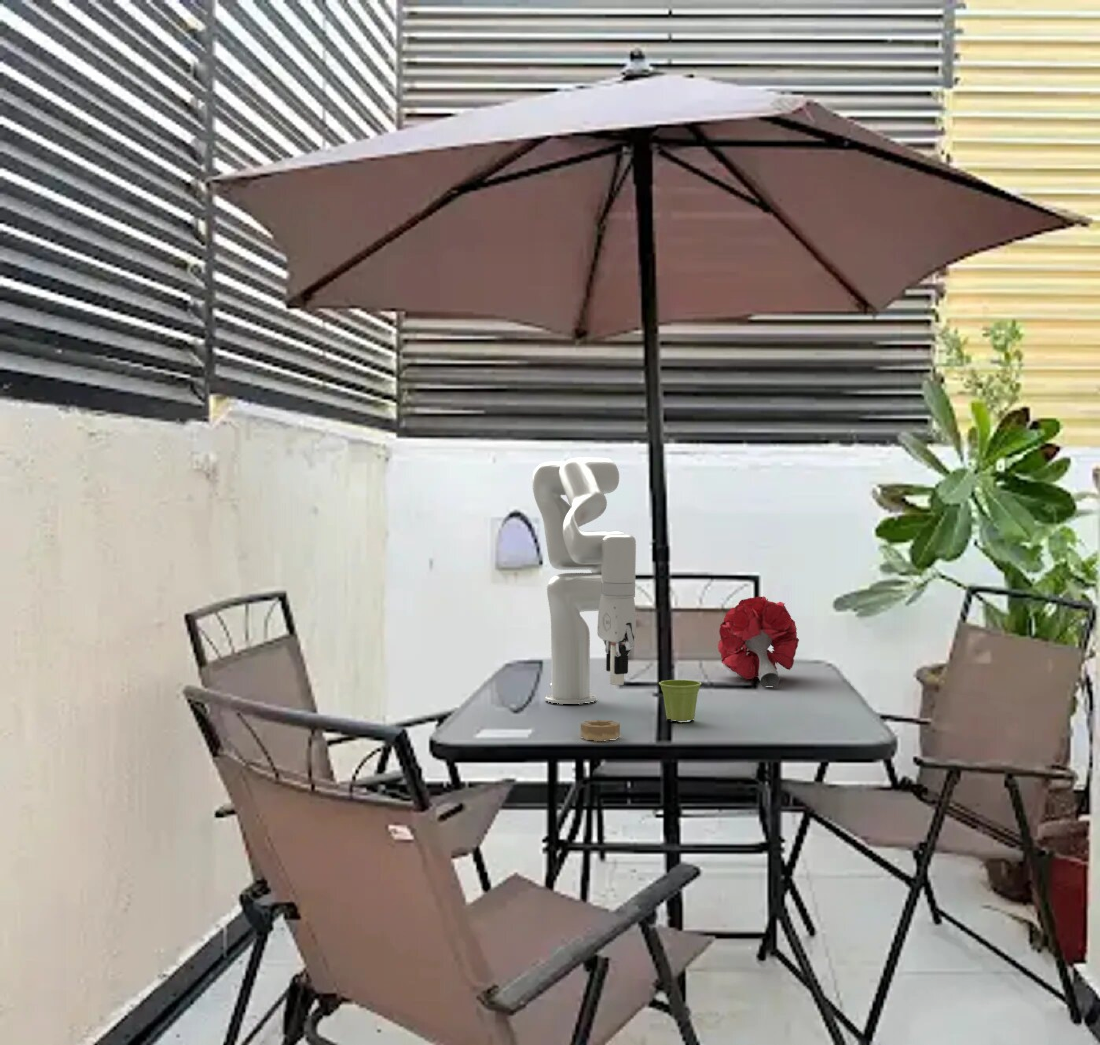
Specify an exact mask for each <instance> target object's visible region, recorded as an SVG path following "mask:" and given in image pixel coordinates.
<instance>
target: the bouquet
mask: <svg viewBox="0 0 1100 1045" xmlns="http://www.w3.org/2000/svg"><path fill="white" fill-rule="evenodd" d="M785 604H786V603H784V602H782V601H779V602H774V601H770V600H769V599H768V598H766V597H765V596H755V597H749V598H748V597H747V598H745V599H741V600H740V601H739V602H738V604H737V605H735V607H732V608H731V609H730V610H728V611H727V612H726V613H725V615H724V618H723V622H722V623H720V625H719V626H720V627H719V630H718V632H719V636H720V640H719V641H718V643H717V644H718V646H717V648H718V652H719V653H720V655H721V656H720V657H721V660H720V661H721V663H722V664H723V665H725V666H726V667H727V668H728V669H730V670H731V671H732V672H733V673H735V674H737V675H738V676H739V677H742V678H744V679H745V680H747V679H752V678H753V679H755V678H754V677H755V675H756V676H759V678H758V679H759V682H760V685H761V686H762V687H763V686H775V687H776V686H778V684H779V683H780V680H781V678H780V676H779V672H778V667H777V666H776V665H780V666H782V667H783V668H785V669H786V670H788V671H790V670H792V668H793V666H794V663H795V659H794V658H795V656H796V653H797V649H798V645H799V641H800V639H799V638H798V637H797V636H798V635H797V634H798V632H797V630H798V629H797V626H796V622H795V620H794V619H792V616H791V614H790V613H789V611H788V610H787V607H786V605H785ZM771 646H772V648H771V649H772V651H771V650H769V648H770V647H771ZM753 679H752V680H753Z"/></svg>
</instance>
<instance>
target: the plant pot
mask: <svg viewBox="0 0 1100 1045" xmlns="http://www.w3.org/2000/svg"><path fill="white" fill-rule="evenodd" d="M658 685H660V688H661V692H662V694H663V696H662V697H663V703H664V708H665V716H666V720H667V719H671V720H676V721H687V720H693V719H694V720H695V716H696V708H697V699H698V694H699V691H700V686H701V685H702V682H701V681H697V680H693V679H692V680H691V679H669V680H661V681H659V682H658Z"/></svg>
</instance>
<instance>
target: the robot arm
mask: <svg viewBox="0 0 1100 1045" xmlns="http://www.w3.org/2000/svg"><path fill="white" fill-rule="evenodd" d="M531 482H532V493H533V496H534V497H533V498H534V499H535V504H536V505H537V508H538V509H539V512H540V514H541V518H542V522H543V526H544V528H543V529H544V534H545V543H546V548H547V549H546V550H547V556H548V560H549V563H550V566H551V567H552V568H554V569H555V570H559V571H580V570H581V571H587V570H589V571H591V572H566V573H558V574H556V575H554V576H553V577H551V578H550V580H549V581H548V583H547V586H546V587H547V588H546V590H547V591H546V594H547V602H548V607H549V614H550V636H551V638H550V642H551V643H550V644H551V645H550V649H551V651H550V652H551V654H550V656H551V660H550V661H551V662H550V663H551V666H550V667H551V669H550V670H551V674H550V675H551V676H550V677H551V678H550V679H551V683H550V684H549V688H551V694H550V693H549V694H547V695H545V698H544V699H545V702H546V701H548V702H547V703H549V702H551V703H550V704H553V703H557V704H556V705H563V704H578V703H585V702H591V701H595V700H596V701H597V695H595V694H592V693H591V649H590V648H591V644H590V641H591V640H590V638H591V637H590V636H591V635H590V634H591V633H590V627H589V626H588V624H587V622H586V621H585V619H584V618H583V617H582V616H581V614H580V613H583V612H597V614H598V615H597V629H596V630H597V631H596V632H597V634H596V635H597V636H598V638H599V639H601V640H602V641H603V643H604V646H605V649H604V651H605V656H606V659H605V663H606V664H605V665H606V666H605V670H606V672H610V655H611V642H613V643H616V656H614V673H615V674H624V675H625V674H628V673H629V656H630V651H631V650H632V649H633V648H635V640H636V634H637V617H636V615H637V613H636V603H635V602H636V601H635V597H636V561H637V560H636V559H637V556H636V555H637V554H636V553H637V551H636V550H637V544H636V543H637V541H636V538H635V537H634V535H632V534H629V533H625V532H623V531H619V530H584V531H583V530H581V529H580V527H581V526H585V525H586V524H588V523H590V522H592V521H595V520H596V519H598V518H600V517H601V516H602V515H603V514H604V513H605V511H606V509H607V506H608V504H607V503H608V502H607V501H608V500H607V497H606V496H605V495H606V494H607V495H608V494H610V493H613V492H615V490H617V488H618V485H619V483H620V472H619V468H618V466H617V465H616V463H615V462H614V461H613V460H612V459H610V458H607V457H574V458H573V457H572V458H570V459H567V460H564V461H563V460H562V461H548V462H542V463H540V464H538V466H536V468H534V470H533V473H532V481H531ZM562 496H566V499H567V500H568V502H567V501H566V500H565V499H563V497H562ZM623 639H624V642H620V641H622V640H623ZM620 645H623V646H622V647H621V646H620ZM596 701H595V702H596ZM558 703H559V704H558Z"/></svg>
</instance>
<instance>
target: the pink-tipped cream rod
mask: <svg viewBox="0 0 1100 1045" xmlns="http://www.w3.org/2000/svg"><path fill="white" fill-rule="evenodd" d="M624 641H625V640H624V639H623V640H622V641H620V642H624ZM620 646H621V647H622V646H623V645H620ZM614 656H616V643H613V642H611V655H610V671H609V684H610V685H612V686H623V685H624V684H625V683H624V682H625V679H624V676H625V674H615V673H614Z"/></svg>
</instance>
